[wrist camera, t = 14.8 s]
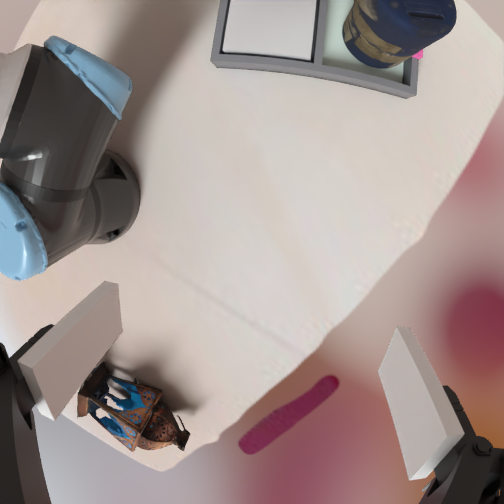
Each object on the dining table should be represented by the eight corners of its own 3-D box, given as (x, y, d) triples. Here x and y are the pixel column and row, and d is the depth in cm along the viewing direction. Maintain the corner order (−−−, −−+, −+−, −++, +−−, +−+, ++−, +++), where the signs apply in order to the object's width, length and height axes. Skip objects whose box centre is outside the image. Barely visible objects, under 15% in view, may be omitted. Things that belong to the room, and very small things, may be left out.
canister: (339, 7, 31) (367, -60, 14) (402, 21, 31) (457, -30, 14) (339, 65, 35) (374, 16, 18) (404, 77, 34) (470, 46, 17)
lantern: (109, 359, 66) (201, 408, 66) (82, 414, 58) (174, 464, 58) (89, 349, 52) (205, 411, 51) (57, 417, 44) (172, 481, 44)
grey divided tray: (216, 67, 37) (208, 58, 33) (230, -17, 32) (224, -32, 27) (406, 99, 36) (420, 94, 31) (409, 13, 31) (422, 2, 26)
